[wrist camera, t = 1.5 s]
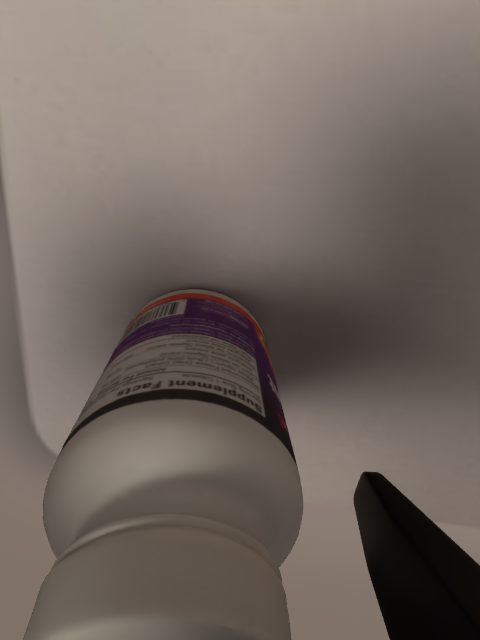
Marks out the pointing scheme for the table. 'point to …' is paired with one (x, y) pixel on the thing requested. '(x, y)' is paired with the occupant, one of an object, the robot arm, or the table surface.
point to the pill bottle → (174, 487)
